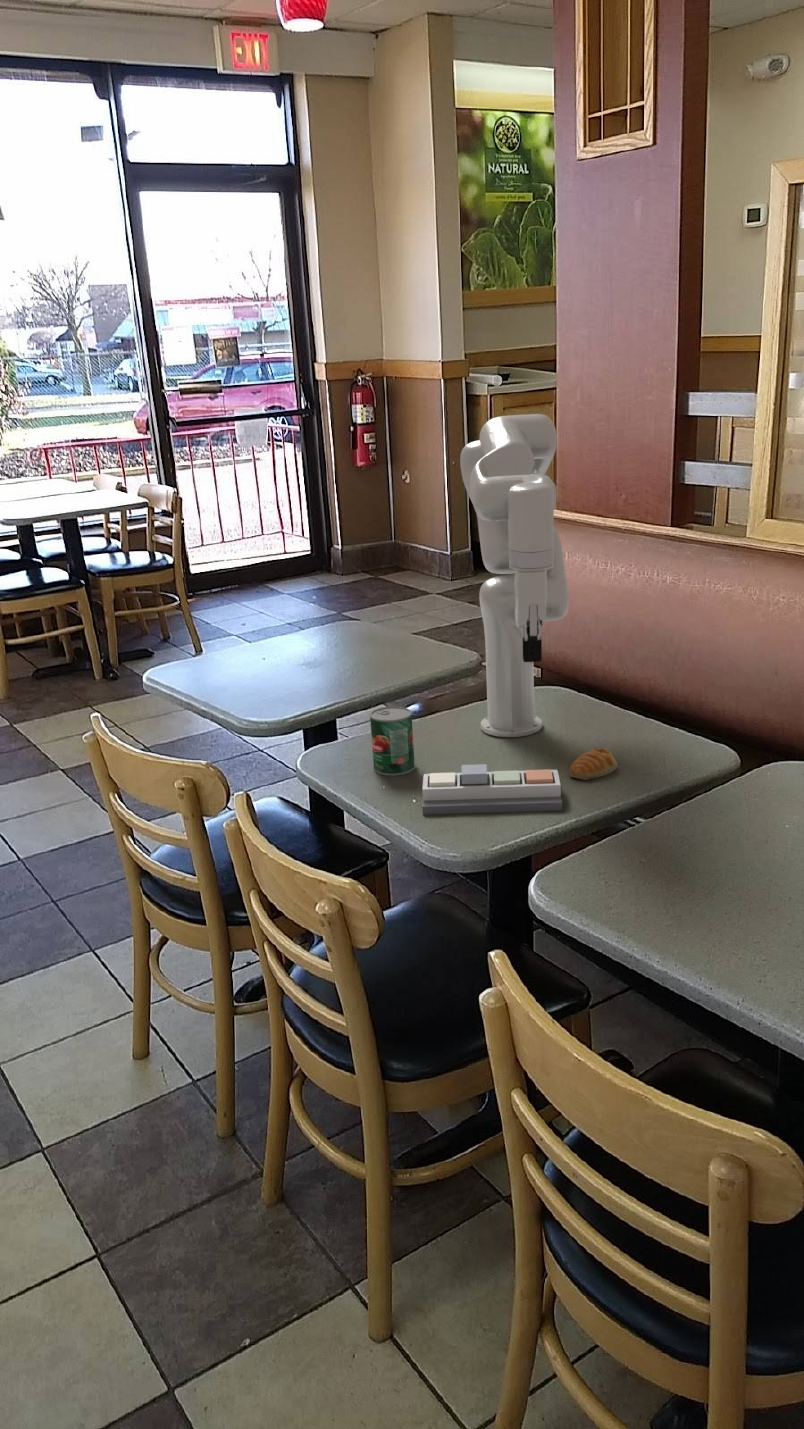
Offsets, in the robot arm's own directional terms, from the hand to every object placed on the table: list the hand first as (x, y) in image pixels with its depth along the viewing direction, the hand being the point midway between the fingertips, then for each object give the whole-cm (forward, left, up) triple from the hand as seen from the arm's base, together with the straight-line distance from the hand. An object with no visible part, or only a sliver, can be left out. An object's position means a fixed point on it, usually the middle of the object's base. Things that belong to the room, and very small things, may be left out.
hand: (532, 660), depth 193 cm
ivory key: (+8, -16, -20) cm, 27 cm away
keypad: (+8, -8, -23) cm, 25 cm away
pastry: (-3, +11, -23) cm, 26 cm away
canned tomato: (-8, -26, -23) cm, 35 cm away
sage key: (+8, -5, -20) cm, 22 cm away
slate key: (+8, -11, -19) cm, 23 cm away
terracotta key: (+8, 0, -20) cm, 22 cm away
